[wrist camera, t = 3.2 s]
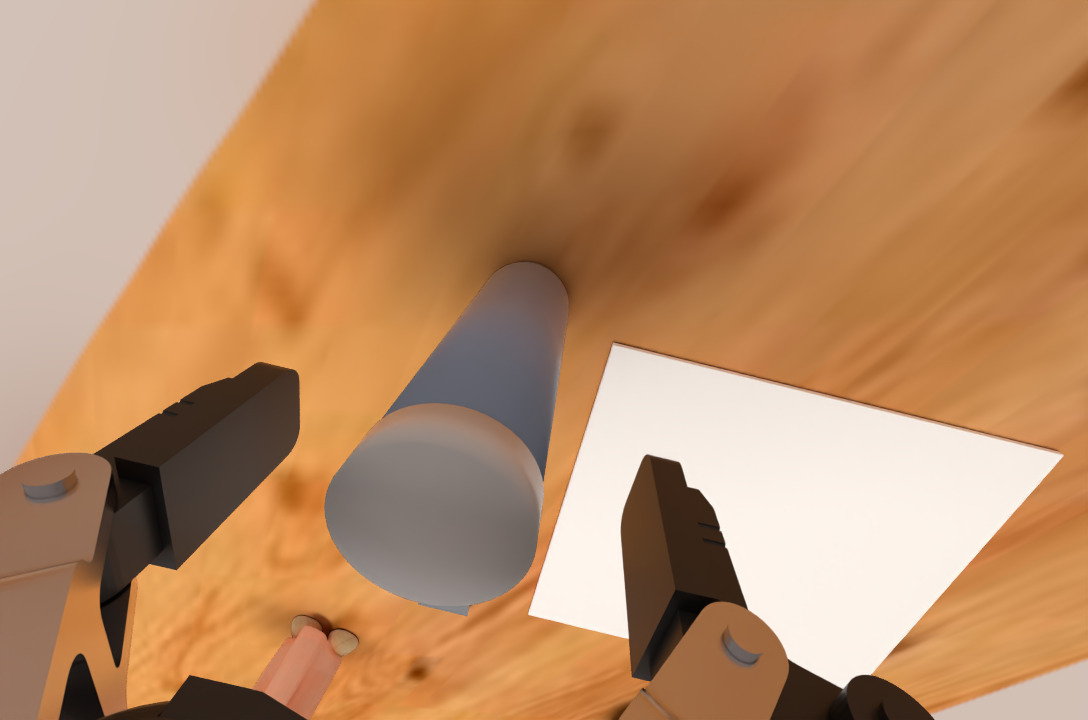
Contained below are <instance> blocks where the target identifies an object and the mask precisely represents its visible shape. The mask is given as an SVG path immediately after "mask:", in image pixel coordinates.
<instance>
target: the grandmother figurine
mask: <svg viewBox="0 0 1088 720" xmlns="http://www.w3.org/2000/svg"><path fill="white" fill-rule="evenodd" d="M291 631H292V638H287V639H286V640H285V641H284V643H283V644H282V645H281V647H280V648H279V650H278V651H277V653H276V654H275V655H274V657H273V658H272V660H271V661H270V662H269V664H268V665H267V667H266V668H265V670H264V671H263V673H262V674H261V676H260V677H259V679H258V680H257V682H256V684H255V686H254V687H253V690H257V691H262V692H264V693H265V694H267V695H269V696H270V697H272V698H274V699H275V700H277V701H278V702H280V703H282V704H283V705H285V706H286V707H288V708H290V709H291V710H293V711H294V712H296V713H298V714H299V715H301V716H302V717H304V718H306V719H307V720H309V719H310V718H311V716H312V714H313V713H314V711H315V709H316V707H317V706H318V704H319V702H320V701H321V699H322V697H323V695H324V693H325V692H326V690H327V688H328V686H329V685H330V683H331V681H332V679H333V677H334V675H335V673H336V671H337V669H338V667H339V666H340V664H341V661H342V659H341V657H343V656H345V655H346V654H348V653H350V652H352V651H353V650H354V649H355V648H356V647H357V645H358V639H357V638H356V637H355V636H354V635H353V634H351V633H350V632H348V631H345V630H334V631H332V632H331V633H330V634H329V636H328V637H326V635H325V634H324V633H323V632H322V626H321V625H320V623H319V622H318V621H316V620H314V619H312V618H309V617H306V616H297V617H295V618H294V619H293V621H292V625H291Z"/></svg>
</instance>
